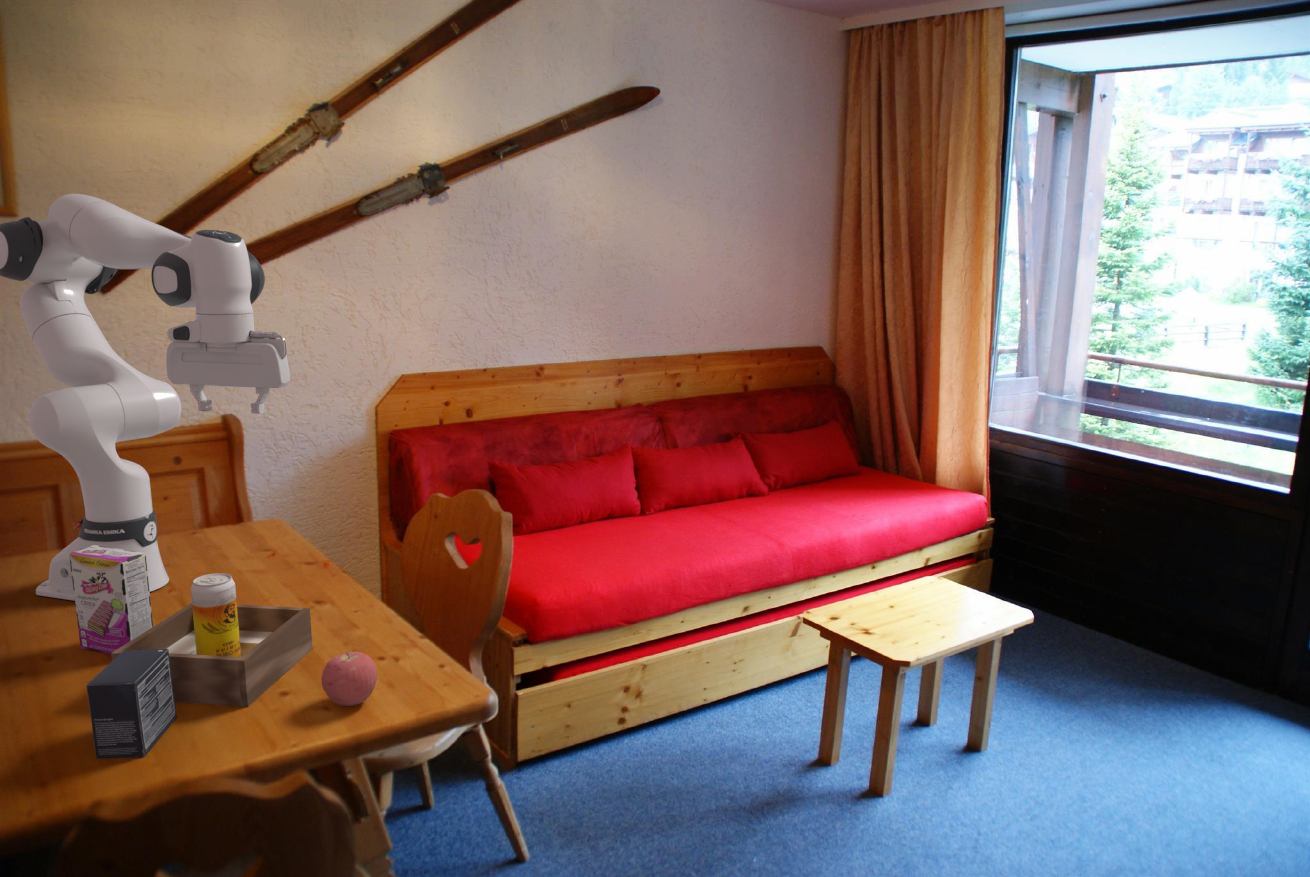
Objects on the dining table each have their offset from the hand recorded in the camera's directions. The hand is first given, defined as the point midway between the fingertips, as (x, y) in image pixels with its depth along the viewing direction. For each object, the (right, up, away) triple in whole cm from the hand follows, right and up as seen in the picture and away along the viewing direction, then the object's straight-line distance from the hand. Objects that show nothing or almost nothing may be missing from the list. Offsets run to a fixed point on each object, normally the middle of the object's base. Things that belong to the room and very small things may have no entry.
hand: (231, 412), depth 162 cm
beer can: (+5, -41, -15) cm, 43 cm away
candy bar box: (-15, -39, -7) cm, 42 cm away
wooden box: (+5, -40, -15) cm, 43 cm away
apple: (+28, -43, -25) cm, 57 cm away
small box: (+3, -45, -35) cm, 57 cm away
